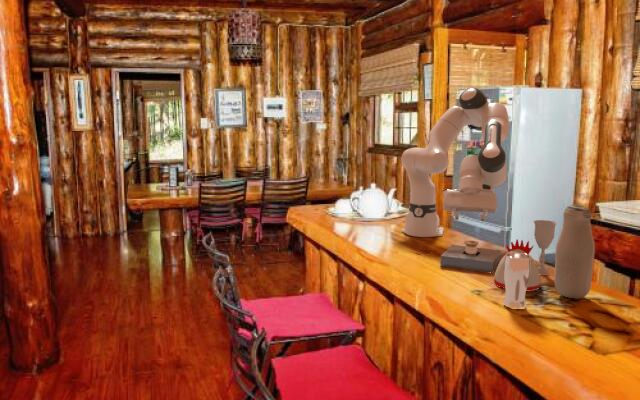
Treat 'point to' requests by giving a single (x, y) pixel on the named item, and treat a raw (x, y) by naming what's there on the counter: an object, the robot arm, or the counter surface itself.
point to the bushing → (471, 247)
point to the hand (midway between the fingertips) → (469, 219)
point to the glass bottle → (574, 253)
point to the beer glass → (516, 278)
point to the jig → (471, 259)
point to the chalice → (544, 240)
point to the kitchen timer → (534, 274)
